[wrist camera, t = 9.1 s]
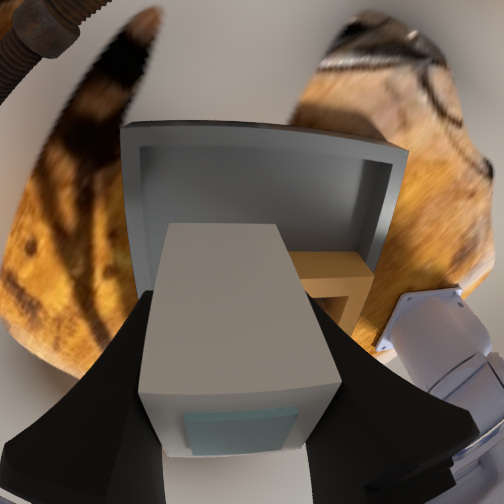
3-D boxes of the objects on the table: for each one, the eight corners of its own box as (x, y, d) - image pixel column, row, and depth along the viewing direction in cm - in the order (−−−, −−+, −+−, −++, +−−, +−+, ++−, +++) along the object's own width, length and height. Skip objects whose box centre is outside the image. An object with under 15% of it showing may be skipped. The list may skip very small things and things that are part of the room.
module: (275, 224, 11) (344, 389, 5) (263, 303, 13) (301, 454, 7) (169, 222, 11) (136, 401, 5) (175, 304, 13) (168, 462, 7)
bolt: (135, -3, 12) (-17, 141, 14) (97, -52, 7) (-56, 109, 9) (141, 6, 9) (-39, 192, 11) (89, -63, 4) (-89, 156, 6)
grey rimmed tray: (387, 141, 17) (423, 158, 14) (331, 335, 27) (345, 368, 23) (132, 121, 15) (111, 133, 11) (156, 343, 24) (152, 380, 21)
